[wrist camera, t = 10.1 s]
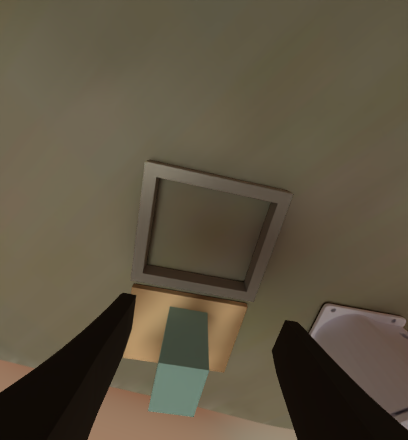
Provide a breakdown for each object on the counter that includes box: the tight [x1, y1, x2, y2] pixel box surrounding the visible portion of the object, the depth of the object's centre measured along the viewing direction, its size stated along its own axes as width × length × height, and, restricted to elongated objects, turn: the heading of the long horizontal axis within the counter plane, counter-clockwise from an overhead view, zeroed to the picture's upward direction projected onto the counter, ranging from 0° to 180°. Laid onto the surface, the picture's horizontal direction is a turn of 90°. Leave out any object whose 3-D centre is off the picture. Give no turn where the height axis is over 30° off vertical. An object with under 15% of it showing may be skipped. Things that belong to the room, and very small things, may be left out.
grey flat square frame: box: [131, 160, 294, 302], centre depth 19 cm, size 12×11×2 cm
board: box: [123, 284, 247, 372], centre depth 23 cm, size 12×10×1 cm
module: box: [148, 306, 209, 417], centre depth 20 cm, size 4×6×6 cm, turn 167°
